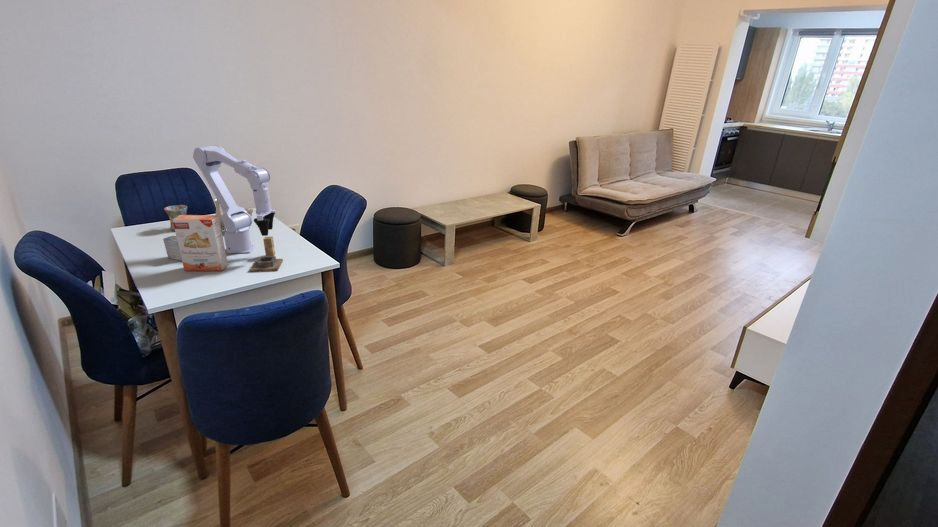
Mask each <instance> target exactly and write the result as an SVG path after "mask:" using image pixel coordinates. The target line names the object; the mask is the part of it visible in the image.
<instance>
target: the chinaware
mask: <svg viewBox="0 0 938 527" xmlns="http://www.w3.org/2000/svg"><path fill="white" fill-rule="evenodd" d="M213 202H214V204H215V207H216V208H215V209H216V210H215V215H218V216H219V222H220V226H221V230H224V232H225V231H227V230H226V228H225V227H224V223H223V220H222V218H221V216H222V214H223V212H224V210H223V208H222V206H221V205H220V203H219V201H218V199H217V198H215V199H213ZM244 209H245V211H246V212H247V213H248V214H249V215H250V216H251V217H253V212H254V209H253V208H250V209H248V208H244ZM233 216H234V215H233ZM230 217H231V216H230Z"/></svg>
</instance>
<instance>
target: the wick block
mask: <svg viewBox="0 0 938 527" xmlns="http://www.w3.org/2000/svg"><path fill="white" fill-rule="evenodd" d="M263 247H264V252H265V256H276V249H275V242H274V237H273V236H264V238H263Z"/></svg>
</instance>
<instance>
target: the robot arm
mask: <svg viewBox="0 0 938 527" xmlns="http://www.w3.org/2000/svg"><path fill="white" fill-rule="evenodd" d="M192 154H193V155H192V159H193V160H194V162H195V164H196V165H197V167H198V169H199V170H200V172H201V173H202V174H201V175H202V176H203V177H204V179H205V180H206V183H207V184H208V186H209V187H210V188H211V191H212V193H213V194H214V196H215V199H218V201H219V203H220V205H221V206H222V208H223V210H224V212H223V214H222V216H221V218H222V220H223V223H224V227H225V228H226V231H225V230H224V233H223V241H224V246H225V252H226V254H247V253H249V254H250V253H252V251H253V250H254V248H255V247H256V245H255V244H253V245H252V240H251V234H250V229H251V226H252V224H253V222H254V223H255V225H256V226H257V227H258V229H259V232H260V235H261V236H263V237H269V230H273V227H274V225H273V224H274V217H275V214H276V209H272V204H271V197H270V191H269V183H268V182H270V180H271V175H270V172H269V170H268V169H266V168H265V167H257V166H256V165H254V164H252V163H250V162H248V160H246V159H237V158H236V157H234V156H233V155H231V154H230V153H228V152H227V151H226V150H225V147H221V145H219V144H214V145H210V146H201V147H195V148H194V150H193V152H192ZM222 164H225V165H227V166H229V167H231V168H233V171H234V172H235V173H236V174H237V175H240V176H242V177H244V178H245V179H246V181H247V182H248V183H249V185H250V188H251V190H252V194H253V201H254V206H255V207H254V208H255V214H256V218H254V219H253V220H252V216H250V215H249V214H248V213H247V212H246V211H245V209H246V208H244V207H242V206H239V205H238V204H237V203H236V201H235V199H234V197H233V196H232V194H231V192H230V191H229V189H228V187H227V185H226V183H225V182H224V180H223V178H222V176H221V174H220V173H219V171H218V170H219V168H220V167H221V165H222ZM233 215H234V216H233ZM230 216H231V217H230Z"/></svg>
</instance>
